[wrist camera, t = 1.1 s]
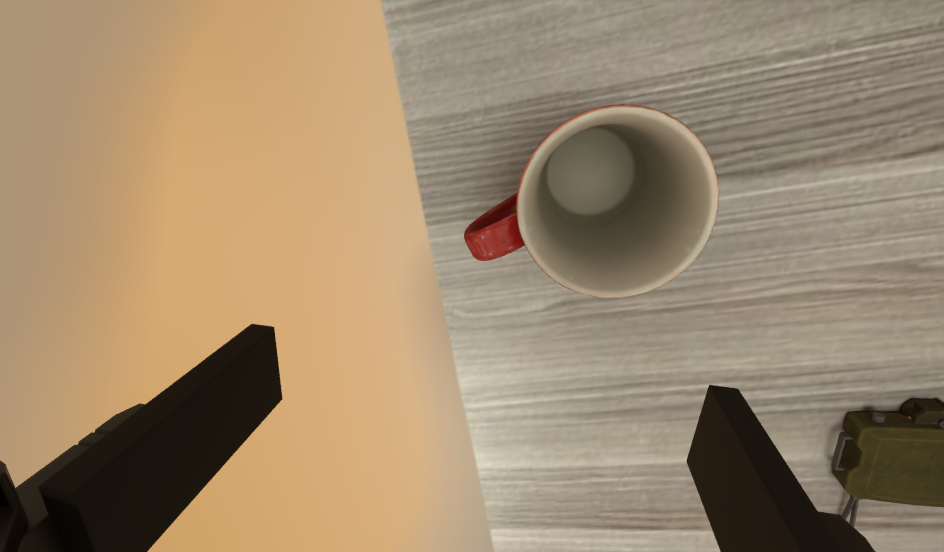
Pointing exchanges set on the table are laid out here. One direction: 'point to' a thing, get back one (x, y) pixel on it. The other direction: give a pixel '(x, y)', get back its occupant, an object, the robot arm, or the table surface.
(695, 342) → the table surface
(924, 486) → the landmine
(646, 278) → the mug
